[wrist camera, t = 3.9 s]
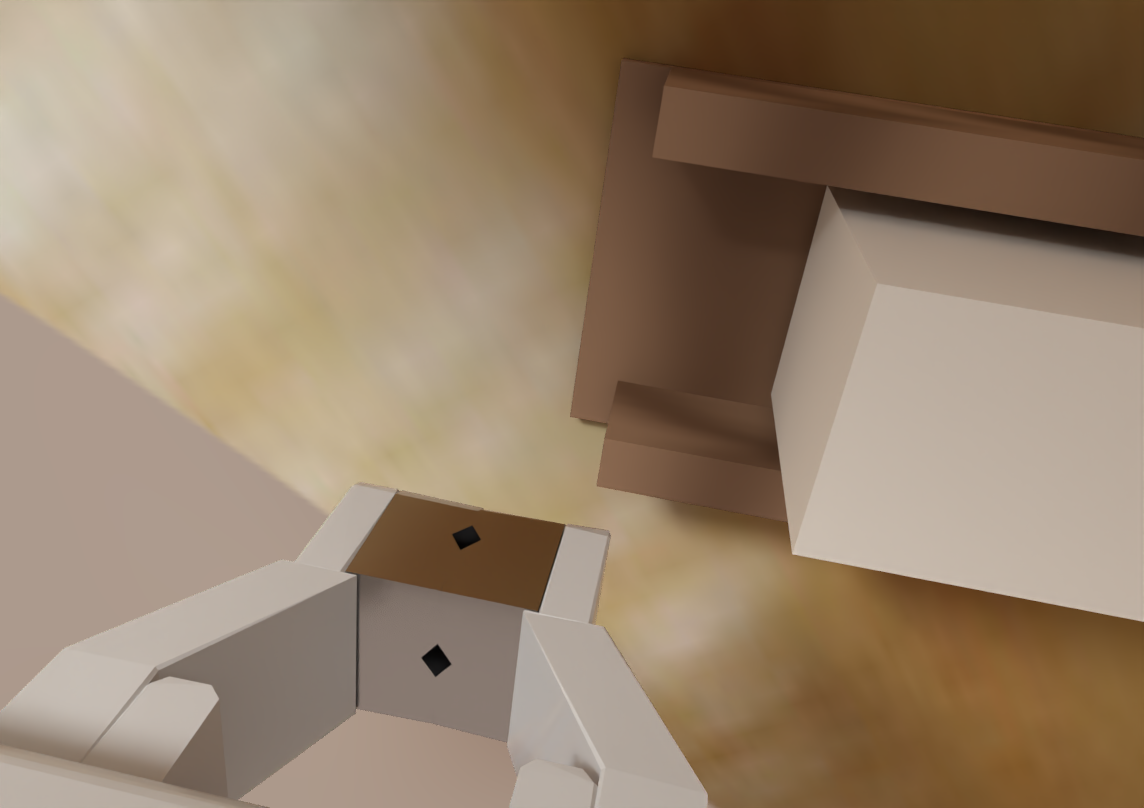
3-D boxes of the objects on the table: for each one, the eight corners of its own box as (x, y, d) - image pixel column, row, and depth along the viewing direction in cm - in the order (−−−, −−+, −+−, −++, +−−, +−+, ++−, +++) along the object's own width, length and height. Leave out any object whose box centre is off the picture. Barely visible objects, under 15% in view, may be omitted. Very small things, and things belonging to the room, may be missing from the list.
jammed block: (771, 393, 19) (791, 554, 14) (826, 185, 17) (877, 283, 12) (1085, 450, 19) (1227, 637, 14) (1185, 242, 17) (1402, 371, 11)
